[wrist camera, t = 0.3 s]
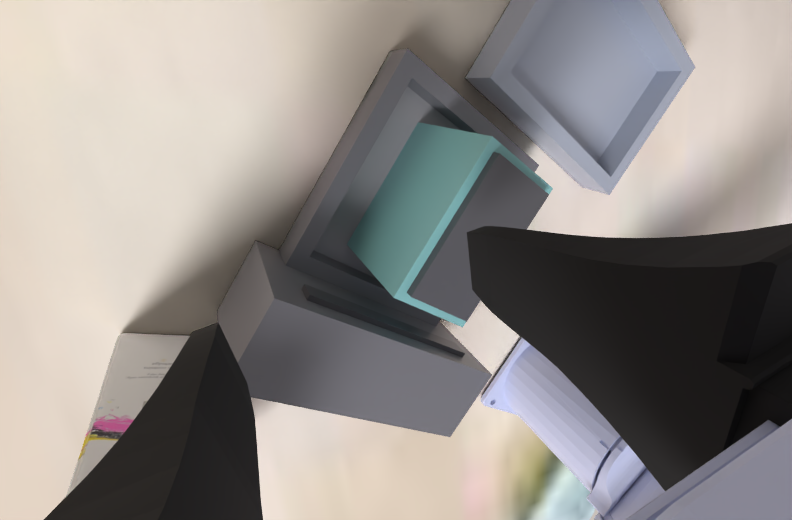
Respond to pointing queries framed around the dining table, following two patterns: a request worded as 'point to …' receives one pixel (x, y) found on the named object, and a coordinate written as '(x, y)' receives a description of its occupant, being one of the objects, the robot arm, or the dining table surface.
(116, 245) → the dining table surface
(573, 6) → the tray
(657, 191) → the dining table surface
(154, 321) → the dining table surface
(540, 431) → the robot arm
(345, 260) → the bay
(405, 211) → the teal block grey face
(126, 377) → the ink cartridge box
